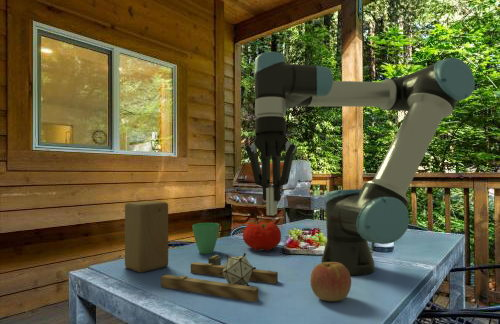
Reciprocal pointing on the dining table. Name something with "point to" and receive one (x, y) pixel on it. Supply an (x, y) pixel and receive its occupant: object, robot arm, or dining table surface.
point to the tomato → (262, 236)
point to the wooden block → (146, 235)
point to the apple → (330, 281)
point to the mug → (206, 236)
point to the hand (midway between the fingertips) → (271, 214)
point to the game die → (237, 270)
